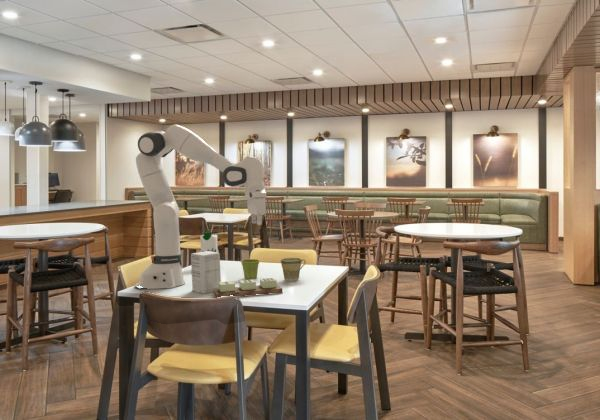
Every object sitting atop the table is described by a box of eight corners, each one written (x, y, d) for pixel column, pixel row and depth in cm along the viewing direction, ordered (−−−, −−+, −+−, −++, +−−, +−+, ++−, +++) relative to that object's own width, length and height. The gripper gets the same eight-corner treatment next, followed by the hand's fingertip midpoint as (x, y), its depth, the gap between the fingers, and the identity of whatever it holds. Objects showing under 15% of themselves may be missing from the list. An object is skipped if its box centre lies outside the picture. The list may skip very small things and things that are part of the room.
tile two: (242, 290, 210) (241, 282, 210) (239, 287, 216) (239, 280, 216) (256, 289, 212) (255, 281, 212) (253, 286, 218) (252, 279, 218)
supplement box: (209, 287, 228) (208, 250, 227) (221, 290, 222) (220, 252, 221) (191, 290, 221) (190, 253, 220) (203, 293, 215) (202, 255, 214)
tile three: (262, 288, 213) (262, 281, 213) (259, 285, 219) (259, 278, 218) (276, 287, 215) (276, 280, 215) (273, 284, 220) (273, 277, 220)
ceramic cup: (287, 282, 234) (287, 261, 234) (277, 279, 243) (277, 259, 242) (311, 279, 241) (310, 259, 240) (300, 276, 249) (300, 256, 249)
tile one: (220, 292, 208) (220, 284, 207) (218, 289, 213) (218, 281, 213) (235, 290, 209) (234, 283, 209) (232, 287, 215) (232, 280, 215)
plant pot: (257, 280, 242) (256, 262, 241) (238, 279, 244) (238, 262, 243) (262, 276, 251) (262, 259, 251) (244, 276, 253) (244, 259, 253)
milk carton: (199, 268, 277) (198, 232, 276) (205, 265, 286) (204, 230, 285) (214, 268, 276) (213, 232, 275) (219, 265, 285) (218, 230, 284)
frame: (216, 298, 205) (216, 293, 205) (213, 293, 215) (213, 289, 215) (282, 292, 214) (282, 288, 213) (276, 288, 223) (276, 283, 223)
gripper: (243, 193, 231) (245, 223, 232) (253, 194, 212) (255, 226, 213) (256, 192, 233) (258, 222, 234) (267, 193, 214) (269, 225, 215)
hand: (256, 224), depth 223 cm, fingers open, 8 cm apart
